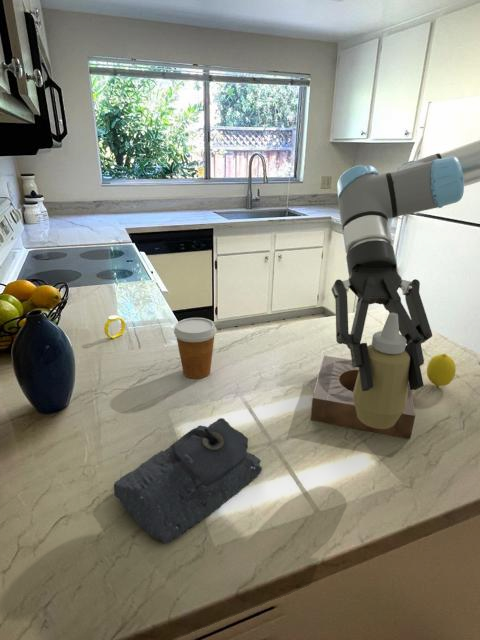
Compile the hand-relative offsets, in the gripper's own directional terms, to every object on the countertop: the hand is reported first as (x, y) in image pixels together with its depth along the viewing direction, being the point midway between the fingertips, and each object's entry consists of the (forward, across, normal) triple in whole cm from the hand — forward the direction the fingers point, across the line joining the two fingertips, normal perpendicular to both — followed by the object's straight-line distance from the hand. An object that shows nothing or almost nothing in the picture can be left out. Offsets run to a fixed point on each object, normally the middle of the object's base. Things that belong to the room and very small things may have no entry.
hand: (392, 388), depth 58 cm
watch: (-26, +54, -50) cm, 78 cm away
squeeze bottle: (+3, 0, -8) cm, 9 cm away
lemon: (-7, -23, -30) cm, 38 cm away
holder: (-3, -4, -26) cm, 26 cm away
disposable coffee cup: (-12, +30, -36) cm, 48 cm away
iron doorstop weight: (+11, +30, -12) cm, 34 cm away
